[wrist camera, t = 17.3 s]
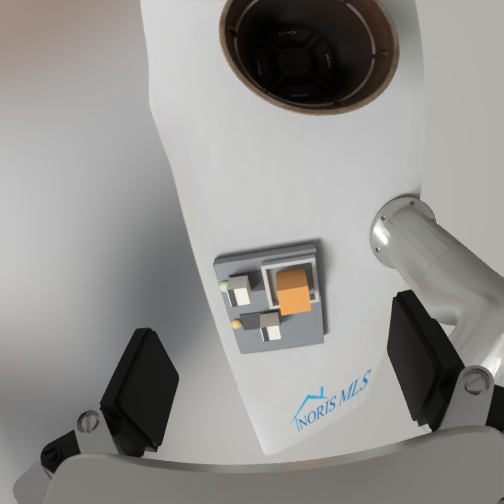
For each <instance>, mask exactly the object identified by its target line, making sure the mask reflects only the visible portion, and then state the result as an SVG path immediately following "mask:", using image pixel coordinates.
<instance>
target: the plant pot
mask: <svg viewBox="0 0 504 504" xmlns="http://www.w3.org/2000/svg"><path fill="white" fill-rule="evenodd" d="M286 31H295V32H297V33H296V34H288V35H283V36H280V35H279V33H280V32H286ZM219 39H220V44H221V48H222V51H223V54H224V57H225V59H226V61H227V63H228V65H229V66H230V68H231V69H232V71H233V72H234V74H235V75H236V76H237V77H238V79H239V80H240V81H241V82H242V83H243V84H244V85H245V86H246V87H247V88H249V89H250V90H251V91H252V92H253V93H255V94H256V95H257V96H259V97H260V98H262V99H264V100H265V101H267V102H269V103H271V104H273V105H275V106H277V107H280V108H282V109H285V110H288V111H292V112H295V113H300V114H306V115H316V116H321V115H337V114H342V113H347V112H350V111H354V110H356V109H359V108H361V107H363V106H365V105H367V104H369V103H370V102H372V101H373V100H375V99H376V98H377V97H378V96H379V95H381V94H382V93H383V91H384V90H385V89H386V88H387V87H388V85H389V84H390V82H391V80H392V79H393V77H394V74H395V72H396V69H397V66H398V61H399V40H398V35H397V31H396V28H395V25H394V23H393V20H392V18H391V16H390V15H389V13H388V11H387V10H386V8H385V7H384V6H383V4H382V3H381V2H380V0H227V2H226V3H225V5H224V8H223V10H222V13H221V17H220V22H219ZM300 52H304V53H305V54H304V55H301V54H300ZM282 53H286V54H287V55H286V56H285V57H283V56H282ZM325 53H327V54H328V55H329V57H330V62H331V69H328V67H327V65H328V64H327V61H326V56H325ZM258 59H259V60H260V62H261V67H262V71H263V75H262V76H261V75H259V73H258V69H257V61H258ZM303 68H307V71H306V72H304V71H303ZM286 69H289V70H290V72H289V73H285V70H286ZM304 92H309V95H308V96H303V97H292V96H291V95H292V94H294V93H304Z"/></svg>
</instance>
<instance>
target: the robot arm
mask: <svg viewBox="0 0 504 504" xmlns="http://www.w3.org/2000/svg"><path fill="white" fill-rule="evenodd" d="M382 216H383V217H382ZM370 244H371V249H372V251H373V253H374V255H375V256H376V258H377V259H378V260H379V261H380V262H381V263H382V264H383V265H385V266H387V267H389V268H393V269H397V271H398V272H399V274H400V275H401V276H402V278H403V279H404V281H405V282H406V283H407V285H408V286H409V288H410V289H411V290H406V291H402V292H398V293H397V296H396V297H393V301H392V312H391V321H390V329H389V337H388V344H387V352H388V356H389V358H390V361H391V363H392V366H393V368H394V371H395V373H396V376H397V379H398V381H399V384H400V386H401V389H402V391H403V395H404V397H405V400H406V403H407V406H408V409H409V411H410V414H411V417H412V419H413V421H417V422H418V425H419V427H420V426H421V427H422V428H423V429H424V430H425V431H426V432H427V433H428V434H425V435H421V436H417V437H414V438H411V439H408V440H404V441H400V442H397V443H393V444H389V445H385V446H381V447H377V448H373V449H369V450H364V451H360V452H355V453H350V454H345V455H340V456H334V457H328V458H321V459H314V460H306V461H297V462H287V463H274V464H254V465H216V464H215V465H214V464H194V463H181V462H171V461H162V460H154V459H146V458H145V457H144V451H150V452H157V449H158V446H160V445H161V444H162V441H163V437H164V434H165V430H166V426H167V422H168V418H169V414H170V411H171V407H172V403H173V400H174V396H175V393H176V389H177V385H178V382H179V375H178V373H177V371H176V369H175V368H174V366H173V364H172V362H171V360H170V358H169V357H168V355H167V353H166V351H165V349H164V347H163V345H162V343H161V341H160V339H159V337H158V335H157V333H156V332H155V331H152V329H151V328H138V329H136V330H135V332H134V334H133V336H132V338H131V339H130V341H129V343H128V345H127V347H126V350H125V351H124V354H123V355H122V357H121V360H120V362H119V363H118V366H117V368H116V370H115V372H114V374H113V376H112V378H111V380H110V382H109V384H108V387H107V389H106V391H105V393H104V395H103V397H102V400H101V402H100V405H101V407H100V409H98V408H95V407H89V408H86V409H84V410H82V411H81V412H80V413H79V414H78V415H77V416H76V418H75V420H74V430H72V431H71V432H69V433H68V434H65V435H64V436H62V437H60V438H58V439H56V440H55V441H53V442H51V443H49V444H48V445H46V446H45V447H44V449H43V450H42V453H41V457H40V458H41V462H39V461H36V462H35V463H34V464H33V465H32V466H31V467H30V468H29V469H28V470H27V471H26V472H25V473H24V474H23V475H22V476H21V477H20V478H19V479H18V480H17V481H16V482H15V483H14V487H13V493H14V496H15V498H16V500H17V502H18V504H504V277H502V276H501V275H499V274H498V273H497V272H495V271H494V270H493V269H491V268H490V267H489V266H488V265H487V264H485V263H484V262H483V261H482V260H481V259H479V258H478V257H477V256H476V255H475V254H474V253H473V252H471V251H470V250H469V249H468V248H467V247H465V246H464V245H463V244H462V243H460V242H459V241H458V240H457V239H456V238H454V237H453V236H452V235H451V234H450V233H448V232H447V231H446V230H445V229H443V228H442V227H441V226H440V225H438V224H437V223H436V219H435V216H434V214H433V212H432V210H431V209H430V207H429V206H428V205H427V204H426V203H424V202H423V201H421V200H419V199H417V198H414V197H401V198H397V199H395V200H393V201H391V202H389V203H388V204H386V205H385V206H384V207H383V208H382V209H381V210H380V212H379V213H378V214H377V216H376V218H375V219H374V221H373V224H372V227H371V232H370ZM376 248H377V249H376ZM438 322H439V323H442V324H446V325H454V326H455V328H454V330H453V331H452V333H451V334H450V335H449V337H447V335H446V334H445V332H444V330H443V329H442V327H441V326H440V324H439V323H438Z"/></svg>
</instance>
